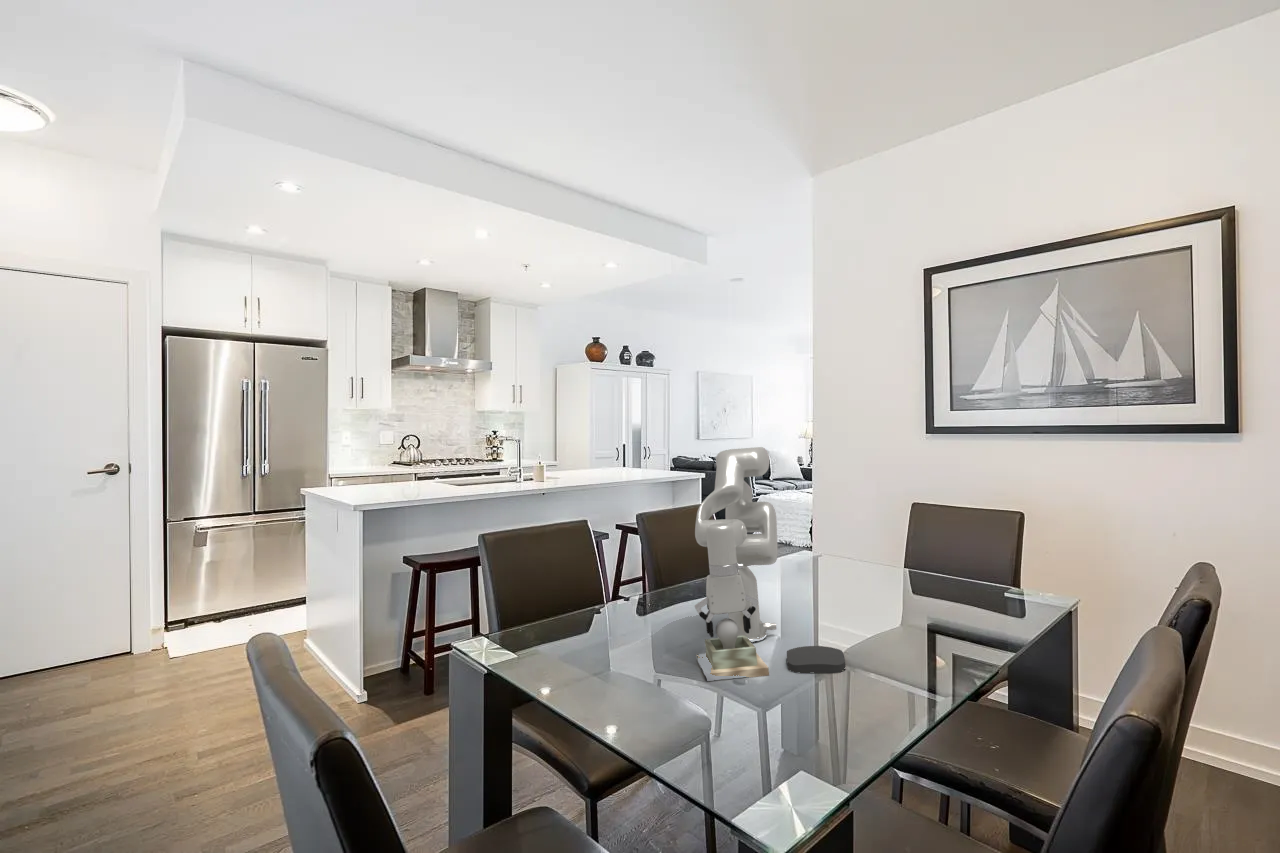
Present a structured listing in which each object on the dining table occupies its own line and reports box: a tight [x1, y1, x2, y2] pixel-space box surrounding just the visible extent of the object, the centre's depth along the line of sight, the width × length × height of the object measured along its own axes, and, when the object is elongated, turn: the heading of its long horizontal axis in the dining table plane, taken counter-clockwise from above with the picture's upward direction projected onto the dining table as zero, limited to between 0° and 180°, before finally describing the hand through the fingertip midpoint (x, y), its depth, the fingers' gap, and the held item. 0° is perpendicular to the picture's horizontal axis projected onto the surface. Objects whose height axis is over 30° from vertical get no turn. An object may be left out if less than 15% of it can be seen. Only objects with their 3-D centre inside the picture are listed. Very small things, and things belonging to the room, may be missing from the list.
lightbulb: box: [715, 617, 739, 649], centre depth 166 cm, size 6×6×11 cm
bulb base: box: [696, 635, 770, 678], centre depth 166 cm, size 16×16×6 cm
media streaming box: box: [786, 645, 847, 674], centre depth 164 cm, size 15×15×3 cm
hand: (729, 633), depth 166 cm, fingers open, 9 cm apart
